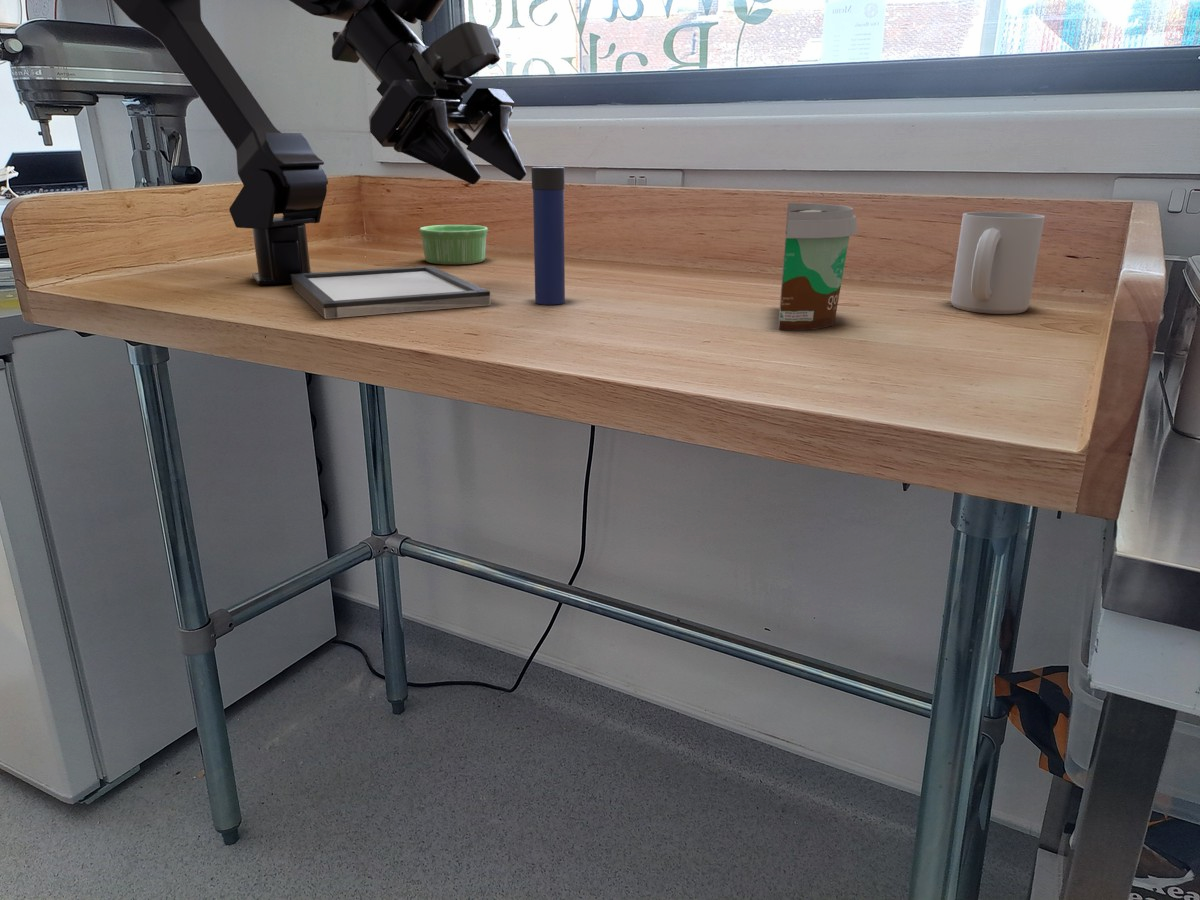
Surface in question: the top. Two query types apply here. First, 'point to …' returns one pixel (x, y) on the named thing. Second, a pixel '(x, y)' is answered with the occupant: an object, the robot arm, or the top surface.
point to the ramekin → (454, 244)
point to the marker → (549, 234)
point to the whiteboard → (386, 291)
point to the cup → (996, 261)
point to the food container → (814, 264)
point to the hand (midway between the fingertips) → (501, 179)
